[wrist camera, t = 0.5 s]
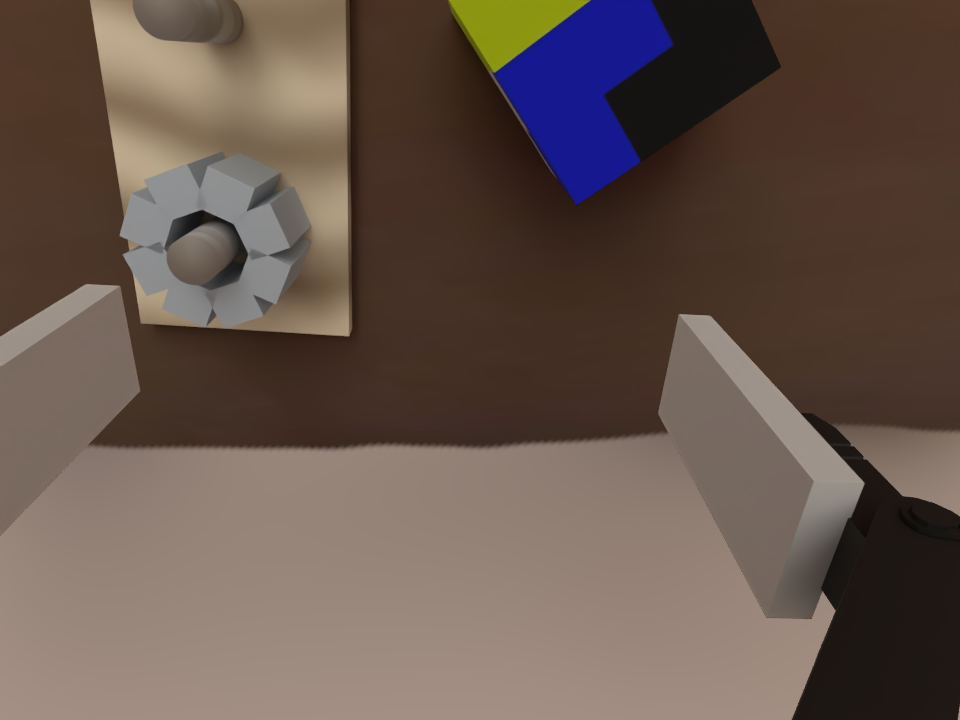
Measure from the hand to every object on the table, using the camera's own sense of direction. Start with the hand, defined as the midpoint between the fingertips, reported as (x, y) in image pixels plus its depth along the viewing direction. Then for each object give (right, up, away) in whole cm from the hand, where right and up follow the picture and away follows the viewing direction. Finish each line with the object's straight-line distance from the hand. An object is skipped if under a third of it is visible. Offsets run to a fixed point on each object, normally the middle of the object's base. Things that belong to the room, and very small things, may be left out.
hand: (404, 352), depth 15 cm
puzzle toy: (+7, +17, +20) cm, 27 cm away
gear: (-13, +8, +23) cm, 27 cm away
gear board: (-12, +13, +21) cm, 28 cm away
